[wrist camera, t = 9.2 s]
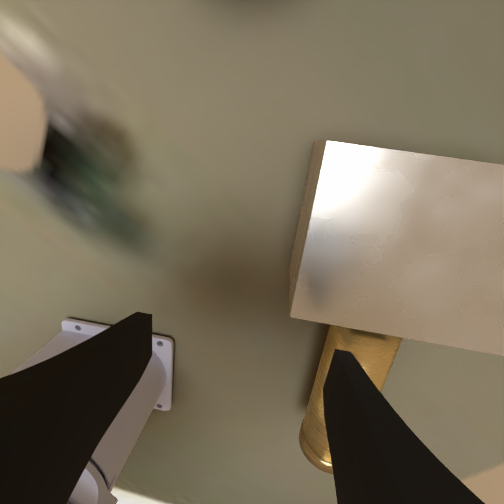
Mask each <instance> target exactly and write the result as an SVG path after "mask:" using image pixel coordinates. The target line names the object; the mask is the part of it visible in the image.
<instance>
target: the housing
mask: <svg viewBox="0 0 504 504" xmlns="http://www.w3.org/2000/svg"><path fill="white" fill-rule="evenodd" d="M290 317H292V318H297V319H303V320H308V321H314V322H319V323H325V324H330V325H336V326H341V327H347V328H352V329H358V330H363V331H369V332H374V333H380V334H385V335H391V336H396V337H402V338H407V339H413V340H418V341H424V342H429V343H435V344H440V345H446V346H452V347H457V348H463V349H468V350H474V351H479V352H485V353H490V354H496V355H501V356H504V165H501V164H494V163H486V162H479V161H472V160H464V159H457V158H450V157H443V156H435V155H428V154H421V153H413V152H406V151H399V150H392V149H384V148H377V147H370V146H363V145H355V144H348V143H341V142H333V141H314V143H313V149H312V154H311V159H310V164H309V169H308V174H307V179H306V184H305V189H304V194H303V199H302V205H301V210H300V215H299V220H298V225H297V230H296V235H295V240H294V245H293V250H292V255H291V261H290Z"/></svg>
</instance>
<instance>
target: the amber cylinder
mask: <svg viewBox="0 0 504 504" xmlns="http://www.w3.org/2000/svg"><path fill="white" fill-rule="evenodd" d="M402 339H403V338H402V337H396V336H391V335H385V334H380V333H374V332H369V331H363V330H358V329H352V328H347V327H341V326H336V325H330V328H329V331H328V335H327V338H326V342H325V346H324V349H323V353H322V356H321V360H320V363H319V367H318V371H317V374H316V378H315V381H314V385H313V388H312V392H311V396H310V399H309V403H308V406H307V410H306V413H305V417H304V419H303V422H302V425H301V429H300V433H299V443H300V446H301V449H302V451H303V453H304V455H305V456H306V458H307V459H308V460H309V461H310V462H311V463H312V464H313V465H314V466H315V467H317V468H318V469H320V470H322V471H324V472H326V473H330V474H333V468H332V462H331V456H330V450H329V444H328V438H327V432H326V426H325V419H324V406H323V387H324V383H325V380H326V377H327V373H328V370H329V367H330V363H331V360H332V357H333V353H334V350H335V349H339V350H344V351H350V352H352V354H353V355H354V356H355V358H356V359H357V361H358V362H359V363H360V365H361V366H362V368H363V369H364V371H365V372H366V373H367V375H368V376H369V378H370V379H371V380H372V382H373V383H374V384H375V386H376V387H377V389H378V390H379V391H380V392H381V391H382V388H383V386H384V383H385V381H386V378H387V376H388V373H389V371H390V368H391V366H392V364H393V361H394V359H395V356H396V354H397V351H398V349H399V346H400V344H401V341H402Z"/></svg>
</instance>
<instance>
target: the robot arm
mask: <svg viewBox="0 0 504 504" xmlns="http://www.w3.org/2000/svg"><path fill="white" fill-rule="evenodd" d="M61 325H62V331H61V332H60V333H59V334H57V335H56V336H55V337H54V338H53V339H51V340H50V341H49V342H48V343H46V344H45V345H44V346H43V347H42V348H40V349H39V350H38V351H37V352H36V353H34V354H33V355H32V356H31V357H30V358H28V359H27V360H26V361H25V362H24V363H22V364H21V365H20V366H19V367H17V368H16V369H15V370H14V371H13V372H11V373H10V374H9V375H8V376H5V377H2V378H0V504H116V503H117V501H118V500H117V498H116V497H114V496H113V495H112V494H111V493H110V492H111V490H112V488H113V487H114V485H115V483H116V481H117V479H118V477H119V475H120V473H121V471H122V469H123V467H124V465H125V463H126V461H127V459H128V457H129V455H130V453H131V451H132V449H133V447H134V446H135V444H136V442H137V440H138V438H139V436H140V434H141V432H142V430H143V428H144V426H145V424H146V422H147V420H148V418H149V416H150V414H151V412H152V410H153V409H158V410H163V411H169V410H170V408H171V406H172V380H173V347H174V343H173V340H172V339H171V338H168V337H164V336H159V335H153V334H152V314H146V313H141V312H136V313H134V314H132V315H130V316H129V317H127V318H125V319H123V320H121V321H120V322H118V323H116V324H114V325H113V326H106V325H101V324H96V323H91V322H86V321H80V320H75V319H70V318H66V319H65V320H63V321H62V322H61ZM79 326H80V327H79ZM159 341H161V342H162V343H160V342H159ZM323 406H324V419H325V426H326V432H327V438H328V444H329V450H330V456H331V462H332V468H333V474H334V480H335V487H336V495H337V503H338V504H485V503H483V502H482V501H481V500H480V499H479V498H478V497H477V496H476V495H475V494H474V493H472V492H471V491H470V490H469V489H468V488H467V487H466V486H465V485H464V484H463V483H462V482H461V481H460V480H459V479H458V478H457V477H456V476H455V475H454V474H452V473H451V472H450V471H449V470H448V469H447V468H446V467H445V466H444V465H443V464H442V463H441V462H440V461H439V460H438V459H437V458H436V456H435V455H434V454H433V453H432V452H431V451H430V450H429V449H428V448H427V447H426V446H425V445H424V444H423V443H422V442H421V441H420V440H419V438H418V437H417V436H416V435H415V434H414V433H413V432H412V431H411V429H410V428H409V427H408V426H407V425H406V424H405V422H404V421H403V420H402V419H401V418H400V416H399V415H398V414H397V413H396V412H395V410H394V409H393V408H392V407H391V405H390V404H389V403H388V402H387V400H386V399H385V398H384V396H383V395H382V394H381V392H380V391H379V390H378V389H377V387H376V386H375V384H374V383H373V382H372V380H371V379H370V378H369V376H368V375H367V373H366V372H365V371H364V369H363V368H362V366H361V365H360V363H359V362H358V361H357V359H356V358H355V356H354V355H353V354H352V352H350V351H344V350H339V349H335V350H334V353H333V357H332V360H331V363H330V367H329V370H328V373H327V377H326V380H325V383H324V387H323Z"/></svg>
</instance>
